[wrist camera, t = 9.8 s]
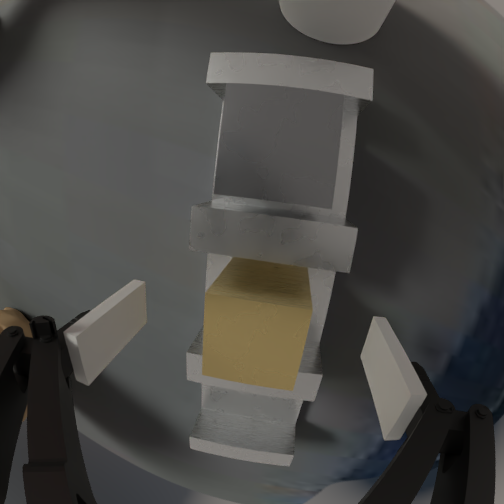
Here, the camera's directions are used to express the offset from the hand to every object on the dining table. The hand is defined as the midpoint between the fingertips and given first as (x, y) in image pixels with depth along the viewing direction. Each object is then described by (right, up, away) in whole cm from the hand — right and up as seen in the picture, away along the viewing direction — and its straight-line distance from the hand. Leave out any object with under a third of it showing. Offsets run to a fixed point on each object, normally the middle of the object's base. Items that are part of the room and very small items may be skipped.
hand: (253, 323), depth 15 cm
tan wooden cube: (+1, +1, +5) cm, 5 cm away
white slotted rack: (+1, +1, +6) cm, 6 cm away
